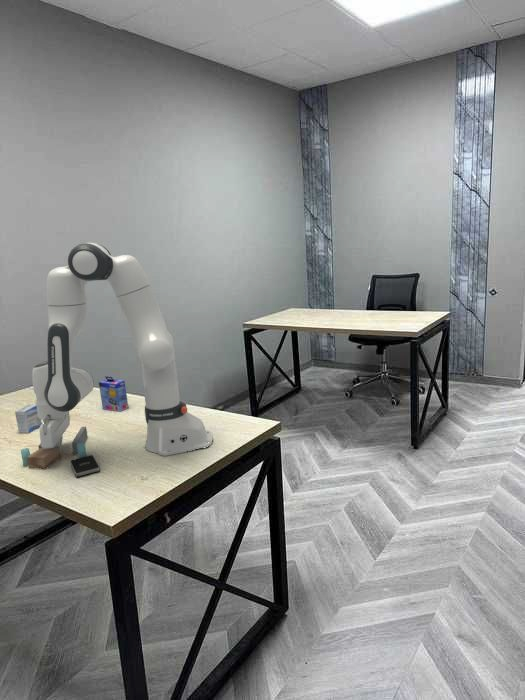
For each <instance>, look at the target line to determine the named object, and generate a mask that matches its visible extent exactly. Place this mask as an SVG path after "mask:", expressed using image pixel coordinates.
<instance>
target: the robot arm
mask: <svg viewBox="0 0 525 700" xmlns="http://www.w3.org/2000/svg"><path fill="white" fill-rule="evenodd" d="M90 281H91V282H95V281H107V282H108V283H109V285H110V286H111V288H112V290H113V293H114V294H115V298H116V300H117V303H118V304H119V305H118V306H119V307H120V310H121V311H122V314H123V316H124V318H125V322H126V324H127V327H128V331H129V332H130V336H131V338H132V341H133V344H134V347H135V349H136V351H137V354H138V358H139V360H140V361H141V372H142V385H143V395H144V402H145V406H144V417H145V419H144V420H145V421H146V422H145V423H146V425H147V427H146V441H145V446H144V447H145V450H147V451H149V452H150V453H156V454H159V455H161V456H163V457H167V456H171V455H172V456H173V455H176V454H181V453H182V454H183V453H187V451H188V452H191V451H192V450H193V451H196V450H195V449H199V448H204V447H207V446H209V445H210V444H211V443H212V444H213V442H212V440H213V441H214V438H213V434H212V432H211V431H210V430H208V429H206V427H205V424H204V422H203V421H202V419H201V418H200V417H197V416H196V415H193V414H192V413H191V412H188V407H187V404H186V402H185V401H181V400H180V394H179V393H180V391H179V382H178V374H177V373H178V372H177V363H176V351H175V344H174V343H175V342H174V338H173V336H172V333H170V332H169V331H168V328H167V324H166V321H165V319H164V317H163V314H162V310H161V308H160V306H159V303H158V300H157V299H156V296H155V293H154V291H153V288H152V285H151V283H150V281H149V278H148V276H147V274H146V272H145V271H144V269H143V267H142V265H141V264H140V262H139V261H138V260H137V258H136V257H134V256H133V255H129V254H122V255H118V256H112V255H111V252H110V251H109V250H108V248H106V247H105V246H103V245H101V244H99V243H96V242H83V243H80V244H77V245H76V246H74V247H73V248H72V249H71V250H70V252H69V253H68V256H67V265H66V266H58V267H55V268H53V269H51V270H50V271H49V273H48V274H47V279H46V302H47V303H46V304H47V315H48V316H47V317H48V330H47V360H45V361H43V362H40V363H38V364H36V365H34V367H33V368H32V371H31V372H32V373H31V379H32V388H33V393H34V394H35V397H36V400H35V405H36V406H37V412H38V418H39V419H41V421H42V424H41V425H40V427H39V438H40V443H41V446H42V448H43V449H48V448H54V447H60V451H61V450H63V448H64V447H63V436H64V433H65V432H66V431H67V429H68V428H69V426H70V423H71V422H70V421H71V420H70V419H71V418H70V411H72V410H73V409H74V408H76V407H77V405H78V404H79V403H80V402H81V401H83V400H84V399H85V398H86V397H87V396H89V394H90V393H91V392H92V391H93V389H94V386H95V381H94V378H93V376H92V374H91V373H90V372H89V371H87V370H86V369H83V368H76V367H72V346H73V343H74V341H75V340H76V338H77V336H78V335H79V333H81V331H82V330H83V328H84V327H85V325H86V324H87V323H86V322H87V317H88V316H87V315H88V314H87V312H88V311H87V310H88V308H87V301H86V300H87V299H86V298H87V297H86V287H87V284H88V283H89V282H90ZM208 442H209V443H208ZM212 444H211V445H212ZM211 445H210V446H211ZM210 446H209V447H210ZM204 449H205V448H204ZM199 450H200V449H199ZM193 451H192V452H193Z"/></svg>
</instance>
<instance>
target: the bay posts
mask: <svg viewBox="0 0 525 700" xmlns="http://www.w3.org/2000/svg"><path fill="white" fill-rule="evenodd" d="M77 450H78V454H77V455H78V456H77V458H81V457H85V456H87V450H86V444H85V442H84V443H78V444H77ZM20 454H21V460H22V466H23V465H24V466H23V467H28V462H27V456H29V455H31V451H30V448H28V447H27V448H22V449H20Z"/></svg>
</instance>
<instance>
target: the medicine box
mask: <svg viewBox="0 0 525 700" xmlns="http://www.w3.org/2000/svg"><path fill="white" fill-rule="evenodd" d="M14 412H15V413H14V415H15V418H16V419H15V420H16V425H17V428H18V429H17V430H18V433H19V434H30V433H32V432H34V431H35V430H37V429H39V428H40V425H41V424H42V423H43V421H42V420H41V419H39V418H38V412H37V406H36V404H28V405H26V406H24V407H22V408H19V409H18V410H15V411H14ZM33 430H34V431H33Z"/></svg>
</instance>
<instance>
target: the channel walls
mask: <svg viewBox="0 0 525 700" xmlns="http://www.w3.org/2000/svg"><path fill="white" fill-rule="evenodd" d="M87 439H88V431H87V426H81V427H80V429H79V430H78V432H77V434H76V435H75V437H74V439H73V440H72V442H71V445H72V446H71V447H72V448H71V449H72V452H73V453H72V454H73V455H78V450H77V444H78V443H85V442H86V441H87ZM37 447H38V449H40V448H42V446H41V442H40V443H39V445H38V446H37Z"/></svg>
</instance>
